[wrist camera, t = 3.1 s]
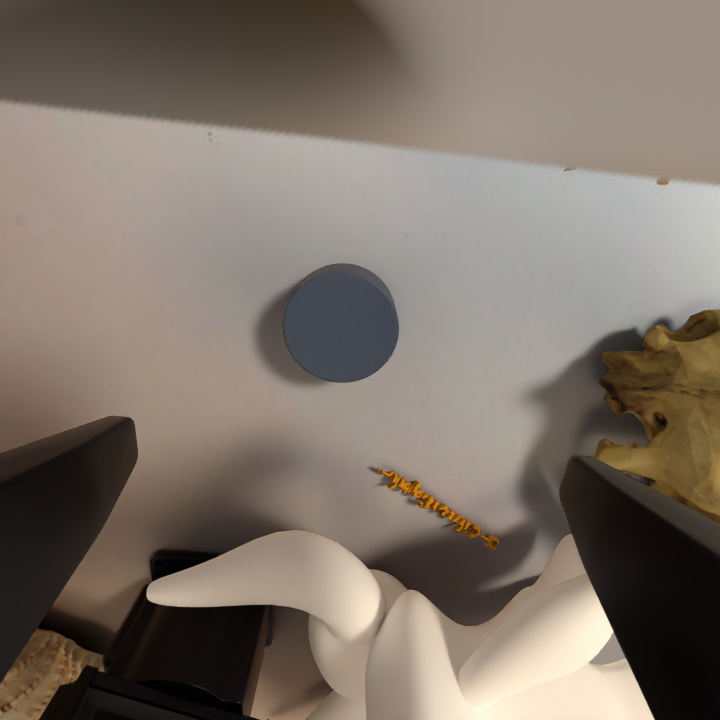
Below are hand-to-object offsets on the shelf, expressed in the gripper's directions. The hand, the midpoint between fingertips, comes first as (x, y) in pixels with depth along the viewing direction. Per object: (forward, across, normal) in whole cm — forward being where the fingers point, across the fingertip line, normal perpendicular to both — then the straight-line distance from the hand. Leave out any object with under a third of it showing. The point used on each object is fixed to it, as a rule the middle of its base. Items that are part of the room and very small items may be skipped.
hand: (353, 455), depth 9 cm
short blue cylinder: (+10, +1, 0) cm, 10 cm away
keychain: (+10, -5, +9) cm, 14 cm away
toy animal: (+7, -13, +12) cm, 19 cm away
